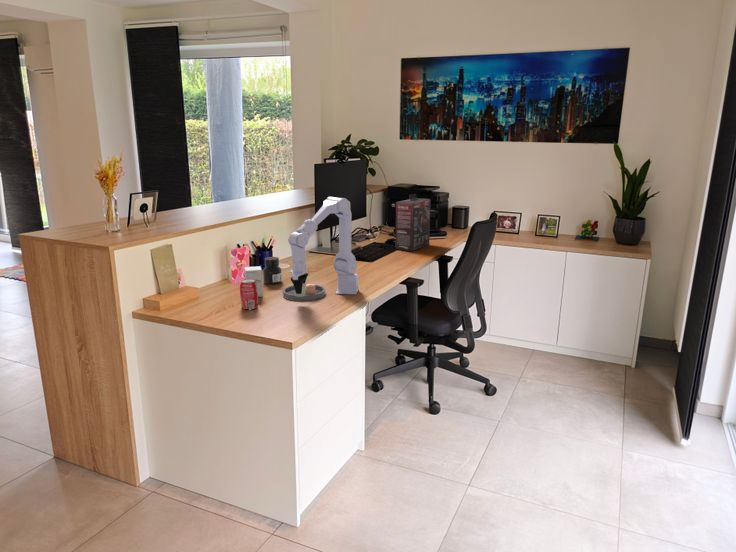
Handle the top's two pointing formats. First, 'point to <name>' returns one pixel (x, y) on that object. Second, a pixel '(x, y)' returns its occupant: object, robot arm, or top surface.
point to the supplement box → (255, 277)
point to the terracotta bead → (310, 289)
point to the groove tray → (319, 292)
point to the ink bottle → (272, 271)
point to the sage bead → (301, 292)
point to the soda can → (248, 294)
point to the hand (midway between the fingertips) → (300, 291)
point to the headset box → (412, 223)
